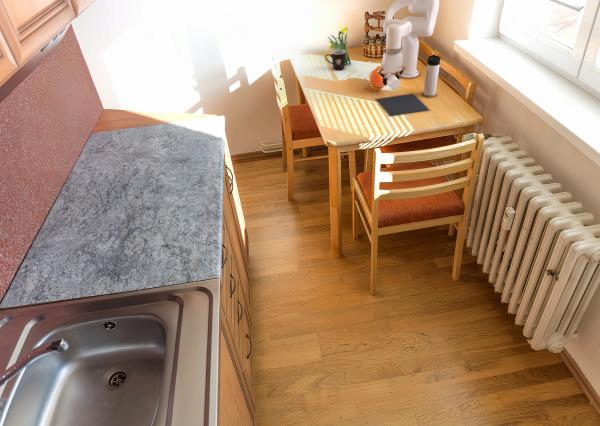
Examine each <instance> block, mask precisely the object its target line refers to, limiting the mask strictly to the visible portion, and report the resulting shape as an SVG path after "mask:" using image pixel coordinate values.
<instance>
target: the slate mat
mask: <svg viewBox="0 0 600 426" xmlns="http://www.w3.org/2000/svg"><path fill="white" fill-rule="evenodd" d="M376 101H377V102H378V103H379V104H380V105H381V107H382V108H383V109H384V110H385V111H386V113H387V114H388V115H389V116H390V117H393V116H399V115H405V114H413V113H419V112H420V113H421V112H426V111H427V112H428V111H430V109H429V108H428V107H427V106H426V105H425V104H424V103H423V102H422V101H421V100H420V99H419V98H418V97H417V96H416V95H415V94H413V93H407V94H401V95H394V96H386V97H380V98H376Z"/></svg>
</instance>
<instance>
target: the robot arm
mask: <svg viewBox="0 0 600 426" xmlns="http://www.w3.org/2000/svg"><path fill="white" fill-rule="evenodd" d="M405 7H408V9H407V10H408V12H409V13H411V14H414V16H413V15H409V16H406V17H404V18H403V19H395V18H394V16H395V14H396V13H397V12H398V11H400V10H402V9H403V8H405ZM439 9H440V0H395V1H393V3H391V5H390V6H389V8H388V9H387V11H386V14H385V17H384V21H383V26H382V30H383V33H384V34H385V35H386V36H385V37H386V38H385V52H383V54H382V59H381V65H380V67H379V69H378V70H377V72H376V73H377V74H378V75H380V77H381V78H382V84H383V85H384V86H387V85H388V84H387V78H386V76H387V74H393V73H395V76H396V78H397V79H398V80H399V81H400V78H403V79H413V78H416V77H418V76H419V74H420V71H419V70H417V68H418V60H419V59H418V57H419V49H420V40H419V38H418V37H422V38H430V37H432V35H433V34H434V31H435V27H436V23H437V19H438V14H439ZM415 15H423V16H415ZM424 16H426V17H424Z"/></svg>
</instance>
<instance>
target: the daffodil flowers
mask: <svg viewBox="0 0 600 426" xmlns="http://www.w3.org/2000/svg"><path fill="white" fill-rule="evenodd" d="M342 24H343V22H341V23H340V21H338V25H339V29H340V30H339V31H338V35H337V36H338V37H335V36H334V35H333V34H330V36H327V39H326V41H327V42H328V43H330V45H328V49H329V50H332V51H333V50H338V49H341V50H345V51H346V55H345V63H344V65H345V66H347V65H351V64H352V61H351V59H350V56H349V53H348V50H347V45H348V43H349V41H347V40H349V37H347V36H348V31H349V29H348V27H347V26H345V27H343V25H342ZM331 37H332V39H333V40H332V39H331ZM328 39H329V40H328ZM337 39H338V40H337Z"/></svg>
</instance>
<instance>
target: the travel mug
mask: <svg viewBox="0 0 600 426" xmlns="http://www.w3.org/2000/svg"><path fill="white" fill-rule="evenodd" d="M440 66H441V56H439V55H436V54H431V55H429V56H428V57H427V62H426V69H425V78H424V85H423V96H424V97H426V98H433V97H435V96H436V94H437V86H438V80H439V74H440Z"/></svg>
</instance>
